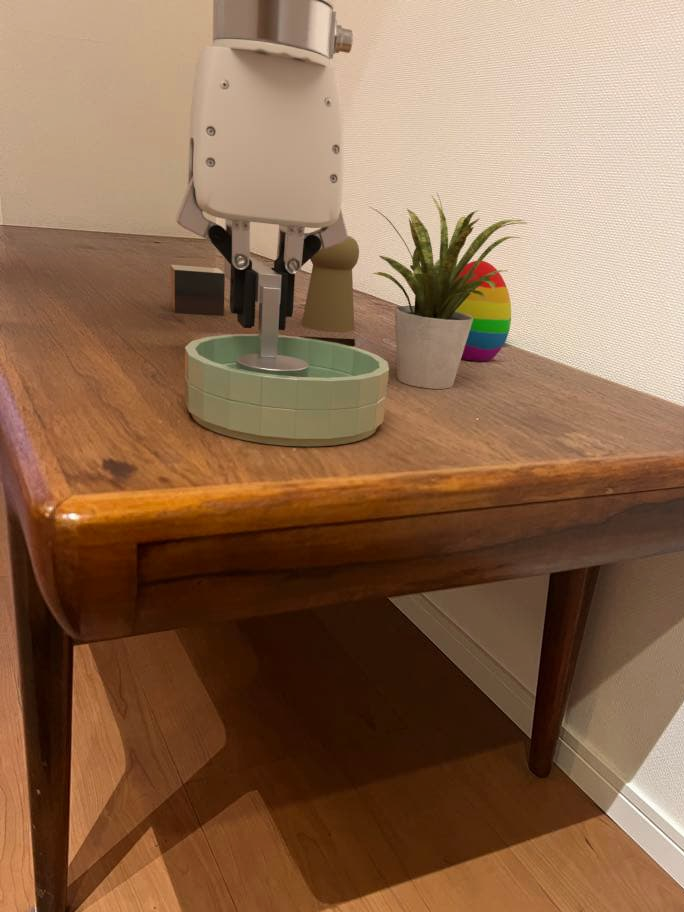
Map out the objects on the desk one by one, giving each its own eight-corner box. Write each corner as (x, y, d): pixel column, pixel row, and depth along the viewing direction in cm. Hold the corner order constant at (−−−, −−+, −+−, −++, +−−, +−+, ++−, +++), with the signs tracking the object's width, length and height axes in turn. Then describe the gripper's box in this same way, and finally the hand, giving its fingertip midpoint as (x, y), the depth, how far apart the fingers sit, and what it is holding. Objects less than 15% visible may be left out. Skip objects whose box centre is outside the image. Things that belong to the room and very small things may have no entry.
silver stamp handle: (203, 346, 68) (203, 249, 65) (259, 348, 70) (263, 254, 67) (243, 403, 53) (246, 280, 49) (314, 405, 54) (322, 286, 51)
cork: (317, 348, 80) (324, 234, 75) (288, 336, 84) (294, 227, 80) (365, 347, 84) (376, 238, 79) (336, 335, 88) (344, 231, 83)
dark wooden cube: (174, 329, 81) (174, 269, 78) (170, 321, 84) (170, 264, 82) (223, 331, 82) (224, 273, 80) (217, 324, 86) (218, 268, 83)
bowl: (200, 448, 48) (201, 376, 46) (175, 389, 60) (175, 329, 58) (410, 447, 53) (418, 382, 51) (349, 393, 65) (354, 338, 63)
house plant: (540, 391, 74) (575, 205, 67) (471, 414, 63) (505, 195, 57) (415, 360, 81) (436, 188, 74) (332, 376, 70) (348, 176, 63)
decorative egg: (518, 361, 87) (535, 267, 82) (473, 367, 81) (488, 266, 77) (462, 345, 91) (475, 256, 87) (415, 349, 86) (427, 254, 82)
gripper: (368, 62, 56) (346, 322, 64) (139, 18, 50) (145, 310, 58) (406, 52, 50) (376, 341, 58) (150, 0, 44) (154, 330, 52)
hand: (260, 324), depth 58 cm, fingers closed on silver stamp handle
